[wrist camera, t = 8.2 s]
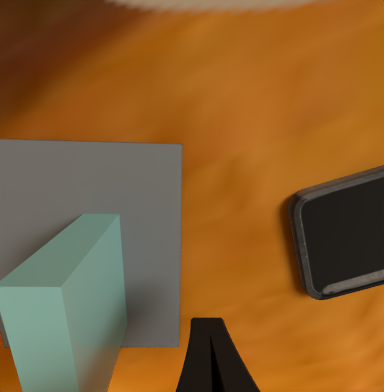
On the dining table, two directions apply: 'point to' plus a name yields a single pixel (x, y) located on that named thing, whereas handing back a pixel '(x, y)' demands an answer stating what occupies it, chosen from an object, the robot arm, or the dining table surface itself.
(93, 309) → the block
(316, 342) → the dining table surface
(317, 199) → the phone
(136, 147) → the mat
